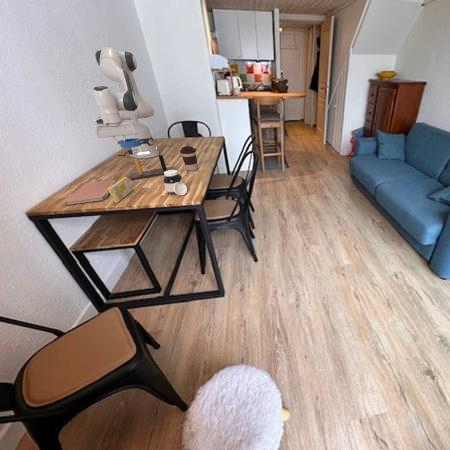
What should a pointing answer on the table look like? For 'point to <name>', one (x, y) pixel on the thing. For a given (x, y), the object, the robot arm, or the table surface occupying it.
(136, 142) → the tape roll
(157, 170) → the peg rack
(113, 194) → the candy box
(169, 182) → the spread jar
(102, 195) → the notebook
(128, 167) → the table surface
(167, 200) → the table surface
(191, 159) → the coffee cup
